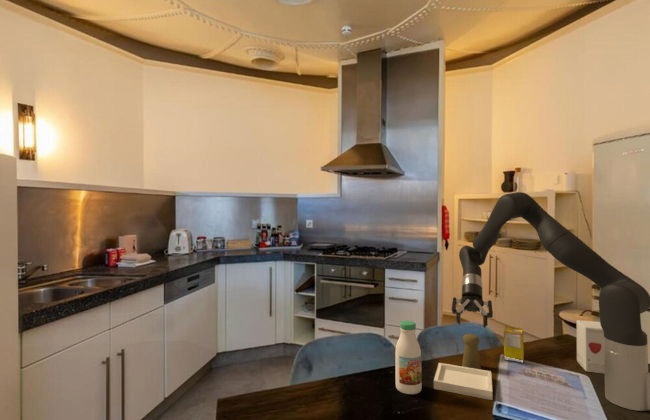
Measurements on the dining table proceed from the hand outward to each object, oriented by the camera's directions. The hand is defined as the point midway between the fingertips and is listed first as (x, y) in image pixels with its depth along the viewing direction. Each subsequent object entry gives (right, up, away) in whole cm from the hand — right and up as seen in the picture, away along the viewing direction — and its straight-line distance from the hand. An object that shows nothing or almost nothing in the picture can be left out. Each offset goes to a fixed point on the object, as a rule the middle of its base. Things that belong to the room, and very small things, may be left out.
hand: (471, 324), depth 125 cm
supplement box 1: (+15, -12, -1) cm, 19 cm away
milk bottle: (-29, -12, -22) cm, 38 cm away
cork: (-3, -12, -7) cm, 15 cm away
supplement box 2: (+39, -12, -9) cm, 42 cm away
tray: (-11, -12, -19) cm, 25 cm away
